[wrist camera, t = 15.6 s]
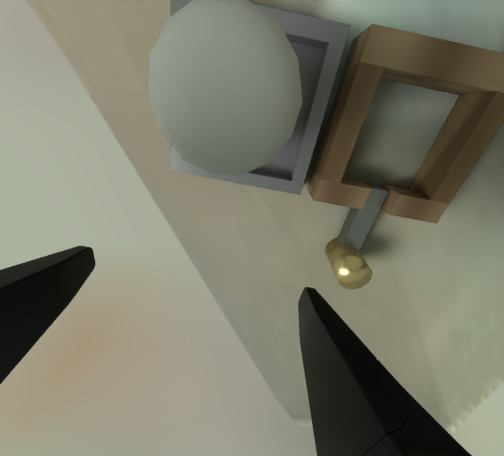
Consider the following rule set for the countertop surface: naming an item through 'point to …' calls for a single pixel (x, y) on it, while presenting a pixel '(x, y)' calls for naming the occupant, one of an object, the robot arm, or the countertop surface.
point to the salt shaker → (225, 85)
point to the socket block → (449, 138)
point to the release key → (355, 242)
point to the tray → (313, 100)
